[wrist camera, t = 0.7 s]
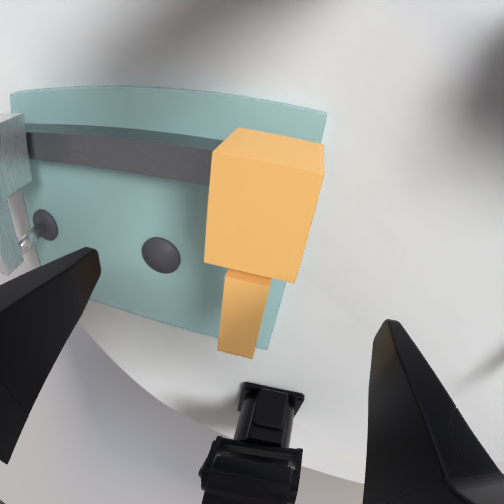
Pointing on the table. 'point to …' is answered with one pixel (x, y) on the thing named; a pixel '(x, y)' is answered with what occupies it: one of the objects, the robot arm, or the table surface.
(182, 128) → the board
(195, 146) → the rail
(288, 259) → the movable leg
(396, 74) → the table surface
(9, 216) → the fixed leg
